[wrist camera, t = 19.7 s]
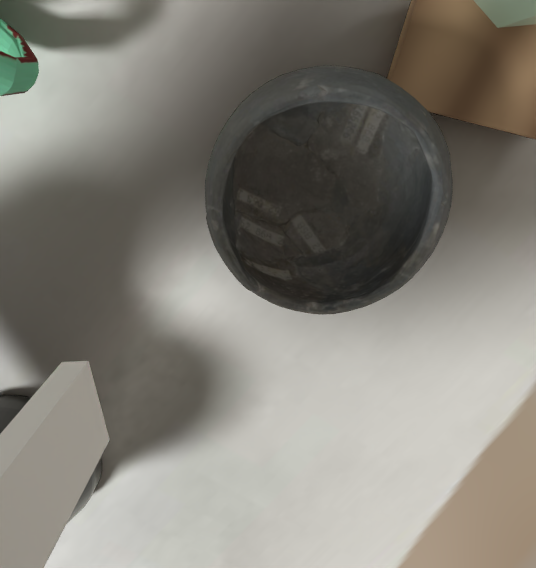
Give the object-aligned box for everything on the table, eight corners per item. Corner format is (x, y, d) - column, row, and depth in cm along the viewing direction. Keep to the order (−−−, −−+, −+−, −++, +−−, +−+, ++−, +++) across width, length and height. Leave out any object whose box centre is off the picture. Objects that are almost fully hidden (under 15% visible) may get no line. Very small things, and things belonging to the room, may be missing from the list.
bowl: (394, 284, 37) (425, 348, 27) (215, 256, 37) (186, 311, 28) (448, 88, 31) (512, 87, 21) (234, 55, 31) (205, 40, 22)
